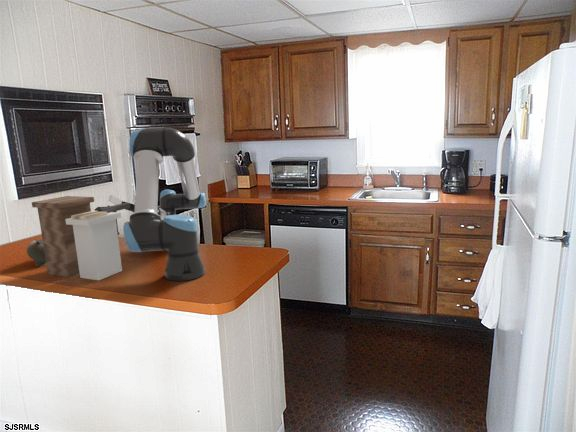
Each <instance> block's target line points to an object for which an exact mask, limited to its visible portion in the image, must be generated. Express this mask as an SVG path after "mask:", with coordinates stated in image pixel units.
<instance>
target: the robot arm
mask: <svg viewBox="0 0 576 432" xmlns="http://www.w3.org/2000/svg"><path fill="white" fill-rule="evenodd" d="M129 137H130V138H129V143H128V145H129V147H128V148H129V153H130V156H131V157H132V158H133V160H134V162H136V163H137V164H136V177H135V178H136V179H135V180H136V181H135V192H134V193H135V195H134V196H133V198H132V199H133V200H132V202H133V203H130V202H129V203H130V208H127V209H125V211H129V212H132V214H130V215H129V221H125V222H124V223H123V237H124V241H125V244H126V247H127V249H128V250H129V251H130V252H132V253H145V252H156V251H157V252H158V251H166V252H167V261H166V265H165V271H164V273H165V274H164V276H165V277H164V278H165V279H167V280H169V281H174V282H184V281H190V280H195V279H198V278H200V277H203V276H204V275H205V273H206V267H205V264H204V263H203V259H202V257H201V255H200V252H199V239H198V227H197V222H196V219H195V218H194V217H193V216H189V215H185V214H177V213H176V211H177V210H189V209H190V210H191V209H193V210H194V209H203V208H205V207H206V206H207V203H206V200H207V198H206V193H204V192H201V191H200V186H199V180H198V177H197V176H198V175H197V170H196V164H195V160H194V158H195V157H196V156H195V155H196V151H195V148H194V145H193V144H192V142H191V140H190V139H189V138H188V137H187V136H186V135H185V134H184V133H183V132H182V131H180V130H178V129H177V128H176V129H175V128H171V127H166V128H165V127H164V128H163V127H162V128H147V129H146V128H141V129H135V130H133V131H132V132H131V134H130V136H129ZM164 157H172V159H173V160H174V161H175V162H176V166H177V170H178V174H179V175H178V176H179V177H180V183H181V187H182V191H183V193H176V191H175V190H172V189H164V190H161V192H160V193H159V179H160V178H159V175H160V164H161V163H163V161H164ZM159 194H160V195H159ZM108 202H110V203H112V204H114V205H118V204H123V203H128V202H126V201H123V200H122V199H121V198H119V197H116V196H114V195H112V194H109V198H108ZM158 202H159V203H158ZM158 204H159V206H158Z"/></svg>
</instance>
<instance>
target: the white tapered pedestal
mask: <svg viewBox="0 0 576 432" xmlns="http://www.w3.org/2000/svg"><path fill="white" fill-rule="evenodd" d="M121 218H122V212H118V211H117V212H110V213H107V215H104V216H100V217H96V218H92V219H88V220H81V219H71V218H69V219H65V220H66V224H68V225H73V231H74V238H75V245H76V252H77V258H78V265H79V272H80V274H79V277H80V279H86V280H92V281H100V280H101V281H102V280H103V279H106V278H108V277H110V276H113V275H115V274H118V273H120V272H123V267H122V266H123V265H122V257H121V249H120V242H119V235H118V233H117V225H118V224H117V225H116V219H117V220H118V219H121Z"/></svg>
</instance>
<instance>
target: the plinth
mask: <svg viewBox="0 0 576 432" xmlns="http://www.w3.org/2000/svg"><path fill="white" fill-rule="evenodd" d="M94 202H95V198H94V196H79V195H77V196H76V195H75V196H72V195H71V196H70V195H65V196H60V197H54V198H48V199H43V200H38V201H32V202H31V208H36V209H37V213H38V219H39V224H40V230H41V231H40V233H41V238H42V239H41V240H43V246H44V252H45V258H46V271H47V274H48V275H51V276H57V277H64V278H72V277H75V276H78V275H80V272H79V265H78V258H77V252H76V245H75V238H74V231H73V225H68V224H66V220H65V219H69V218H71V216H72V215H77V214H81V213H86V212H90V211H92V209H91V203H94Z"/></svg>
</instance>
